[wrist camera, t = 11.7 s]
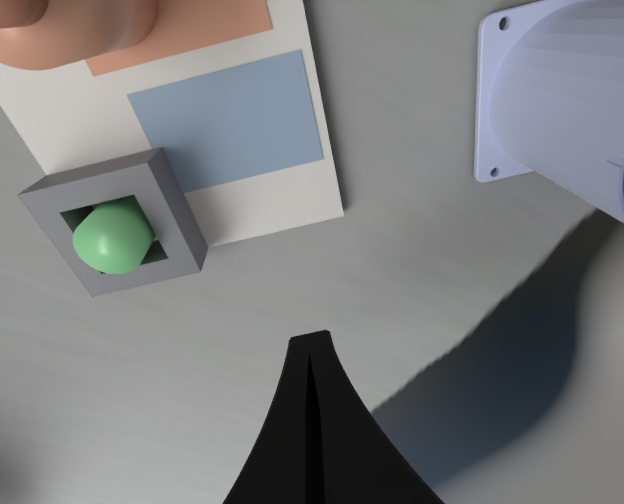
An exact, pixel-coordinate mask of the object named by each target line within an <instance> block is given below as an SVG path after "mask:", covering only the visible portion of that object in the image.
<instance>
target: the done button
mask: <svg viewBox="0 0 624 504" xmlns="http://www.w3.org/2000/svg"><path fill="white" fill-rule="evenodd" d="M155 237H156V234H155V232H154V230H153V228H152V226H151V225H150V223H149V221H148V219H147V217H146V215H145V213H144V212H143V210H142V208H141V206H140V204H139V202H138V201H137V199H136V197H135V195H130V196H126V197H121V198H117V199H113V200H109V201H105V202H101V203H100V204H99V205H98V206H97V207H96V208H95V209H94V210H93V211H92V212H91V213H90V214H89V215H88V217H87V218H86V219H85V220H84V221H83V222H82V223H81V224H80V225H79V226H78V227H77V228H76V229H75V231H74V233H73V246H74V249H75V251H76V253H77V254H78V256H79V257H80V258H81V259H82V260H83V261H84V262H85V263H86V264H87V265H89V266H90V267H92V268H94V269H96V270H98V271H101V272H104V273H109V274H124V273H128V272H130V271H132V270H134V269H136V268H137V267H138V266H139V265H140V263H141V261H142V260H143V258H144V256H145V254H146V253H147V251H148V249H149V247H150V246H151V244H152V242H153V240H154V239H155Z"/></svg>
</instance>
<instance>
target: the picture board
mask: <svg viewBox="0 0 624 504" xmlns="http://www.w3.org/2000/svg"><path fill="white" fill-rule="evenodd" d="M0 106H1V107H2V109H3V110H4V112H5V113H6V115H7V116H8V118H9V119H10V121H11V122H12V124H13V125H14V127H15V128H16V130H17V131H18V133H19V134H20V136H21V137H22V139H23V140H24V142H25V143H26V145H27V146H28V148H29V149H30V151H31V152H32V154H33V155H34V157H35V158H36V160H37V161H38V163H39V164H40V166H41V167H42V169H43V170H44V172H45V173H46V175H47V176H45V177H44V178H42V179H41V180H39V181H38V182H36V183H35V184H33V185H32V186H30V187H29V188H27V189H26V190H24V191H23V192H21V193H20V194H18V195H17V196H18V197H19V198H20V200H21V201H22V202H23V204H24V205H25V206H26V208H27V209H28V210H29V212H30V213H31V215H32V216H33V217H34V219H35V220H36V221H37V223H38V224H39V225H40V227H41V228H42V229H43V231H44V232H45V234H46V235H47V236H48V238H49V239H50V240H51V242H52V243H53V244H54V246H55V247H56V248H57V250H58V251H59V253H60V254H61V255H62V257H63V258H64V259H65V261H66V262H67V263H68V265H69V266H70V267H71V269H72V270H73V272H74V273H75V274H76V276H77V277H78V278H79V280H80V281H81V282H82V284H83V285H84V286H85V288H86V289H87V291H88V292H89V293H90V295H91V296H92V297H94V296H99V295H103V294H107V293H112V292H116V291H120V290H125V289H129V288H133V287H138V286H142V285H146V284H151V283H155V282H159V281H164V280H168V279H172V278H177V277H181V276H186V275H190V274H194V273H199V272H201V270H202V266H203V263H204V260H205V257H206V254H207V250H208V248H209V247H213V246H217V245H222V244H226V243H230V242H234V241H239V240H243V239H247V238H252V237H256V236H260V235H264V234H269V233H273V232H277V231H282V230H286V229H290V228H294V227H299V226H303V225H307V224H312V223H316V222H320V221H324V220H329V219H333V218H337V217H342V216H344V213H343V208H342V203H341V197H340V192H339V187H338V182H337V177H336V171H335V166H334V161H333V156H332V151H331V145H330V140H329V135H328V130H327V125H326V119H325V114H324V109H323V104H322V99H321V93H320V88H319V83H318V78H317V73H316V67H315V62H314V57H313V52H312V47H311V41H310V36H309V31H308V26H307V21H306V15H305V10H304V5H303V0H158V12H157V17H156V21H155V24H154V26H153V28H152V30H151V31H150V33H149V34H148V36H147V37H146V38H145V39H144V40H142V41H141V42H139V43H138V44H136V45H134V46H131V47H127V48H124V49H120V50H117V51H113V52H110V53H106V54H102V55H99V56H95V57H92V58H88V59H85V60H81V61H78V62H74V63H71V64H67V65H64V66H60V67H57V68H53V69H48V70H41V71H38V70H24V69H18V68H14V67H10V66H7V65H4V64H2V63H0ZM130 195H135V197H136V199H137V201H138V202H139V204H140V206H141V208H142V210H143V212H144V213H145V215H146V217H147V219H148V221H149V223H150V225H151V226H152V228H153V230H154V232H155V234H156V237H155V239H154V240H153V242H152V244H151V246H150V247H149V249H148V251H147V253H146V254H145V256H144V258H143V260H142V261H141V263H140V265H139V266H138V267H137V268H136V269H134V270H132V271H130V272H128V273H124V274H109V273H104V272H101V271H98V270H96V269H94V268H92V267H90V266H89V265H87V264H86V263H85V262H84V261H83V260H82V259H81V258H80V257H79V256H78V254H77V253H76V251H75V249H74V246H73V233H74V231H75V229H76V228H77V227H78V226H79V225H80V224H81V223H82V222H83V221H84V220H85V219H86V218H87V217H88V215H89V214H90V213H91V212H92V211H93V210H94V209H95V208H96V207H97V206H98V205H99V204H100V203H101V202H105V201H109V200H113V199H117V198H121V197H126V196H130Z"/></svg>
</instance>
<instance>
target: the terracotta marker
mask: <svg viewBox="0 0 624 504" xmlns="http://www.w3.org/2000/svg"><path fill="white" fill-rule="evenodd" d="M157 12H158V0H0V63H2V64H4V65H7V66H10V67H14V68H18V69H24V70H38V71H41V70H48V69H53V68H57V67H60V66H64V65H67V64H71V63H74V62H78V61H81V60H85V59H88V58H92V57H95V56H99V55H102V54H106V53H110V52H113V51H117V50H120V49H124V48H127V47H131V46H134V45H136V44H138V43H139V42H141V41H142V40H144V39H145V38H146V37H147V36H148V34H149V33H150V31H151V30H152V28H153V26H154V24H155V21H156V17H157Z"/></svg>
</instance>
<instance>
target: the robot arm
mask: <svg viewBox="0 0 624 504" xmlns="http://www.w3.org/2000/svg"><path fill="white" fill-rule="evenodd" d="M503 17H505V18H506V25H505V27H504V28H503V29H502V30H501V29H500V28H499V23H500V21H501V19H502V18H503ZM494 168H496V171H495V172H494V173H493V174H490V173H491V170H492V169H494ZM533 171H535V172H537V173H539V174H540V175H542V176H544V177H546V178H547V179H549V180H551V181H552V182H554V183H556V184H558V185H559V186H561V187H563V188H564V189H566V190H568V191H570V192H571V193H573V194H575V195H576V196H578V197H580V198H582V199H583V200H585V201H587V202H588V203H590V204H592V205H594V206H595V207H597V208H599V209H601V210H602V211H604V212H606V213H607V214H609V215H611V216H613V217H614V218H616V219H618V220H619V221H621V222H623V223H624V0H540V1H536V2H532V3H528V4H524V5H520V6H517V7H513V8H509V9H505V10H501V11H497V12H493V13H490V14H488V15H486V16H485V17H484V18H483V19H482V20H481V22H480V25H479V32H478V63H477V94H476V125H475V155H474V177H475V179H476V180H477V181H479V182H481V183H485V182H490V181H494V180H498V179H503V178H507V177H511V176H515V175H520V174H524V173H528V172H533ZM223 504H445V503H444V502H443V501H442V500H441V499H440V498H439V497H438V496H437V495H436V494H435V493H434V492H433V491H432V490H431V489H430V487H429V486H428V485H427V484H426V483H425V482H424V481H423V480H422V479H421V477H420V476H419V475H418V474H417V473H416V472H415V471H414V469H413V468H412V467H411V466H410V465H409V464H408V462H407V461H406V460H405V459H404V457H403V456H402V455H401V454H400V453H399V451H398V450H397V449H396V448H395V446H393V444H392V443H391V442H390V440H389V439H388V438H387V436H386V435H385V434H384V432H383V431H382V430H381V428H380V427H379V425H378V424H377V423H376V421H375V420H374V418H373V417H372V416H371V414H370V413H369V411H368V410H367V408H366V407H365V405H364V404H363V402H362V400H361V399H360V397H359V396H358V394H357V392H356V391H355V389H354V387H353V386H352V384H351V382H350V380H349V378H348V377H347V375H346V373H345V371H344V369H343V367H342V365H341V363H340V361H339V359H338V356H337V354H336V352H335V349H334V346H333V342H332V338H331V335H330V331H327V330H323V331H318V332H313V333H309V334H304V335H300V336H295V337H291V339H290V340H289V344H288V350H287V354H286V358H285V362H284V366H283V370H282V373H281V377H280V380H279V383H278V386H277V389H276V392H275V395H274V398H273V401H272V403H271V406H270V409H269V411H268V414H267V417H266V419H265V422H264V424H263V427H262V429H261V431H260V434H259V436H258V438H257V440H256V442H255V444H254V447H253V449H252V451H251V453H250V455H249V457H248V459H247V461H246V463H245V465H244V467H243V469H242V470H241V472H240V474H239V476H238V478H237V480H236V482H235V483H234V485H233V487H232V489H231V490H230V492H229V494H228V495H227V497H226V499H225V500H224V502H223Z"/></svg>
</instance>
